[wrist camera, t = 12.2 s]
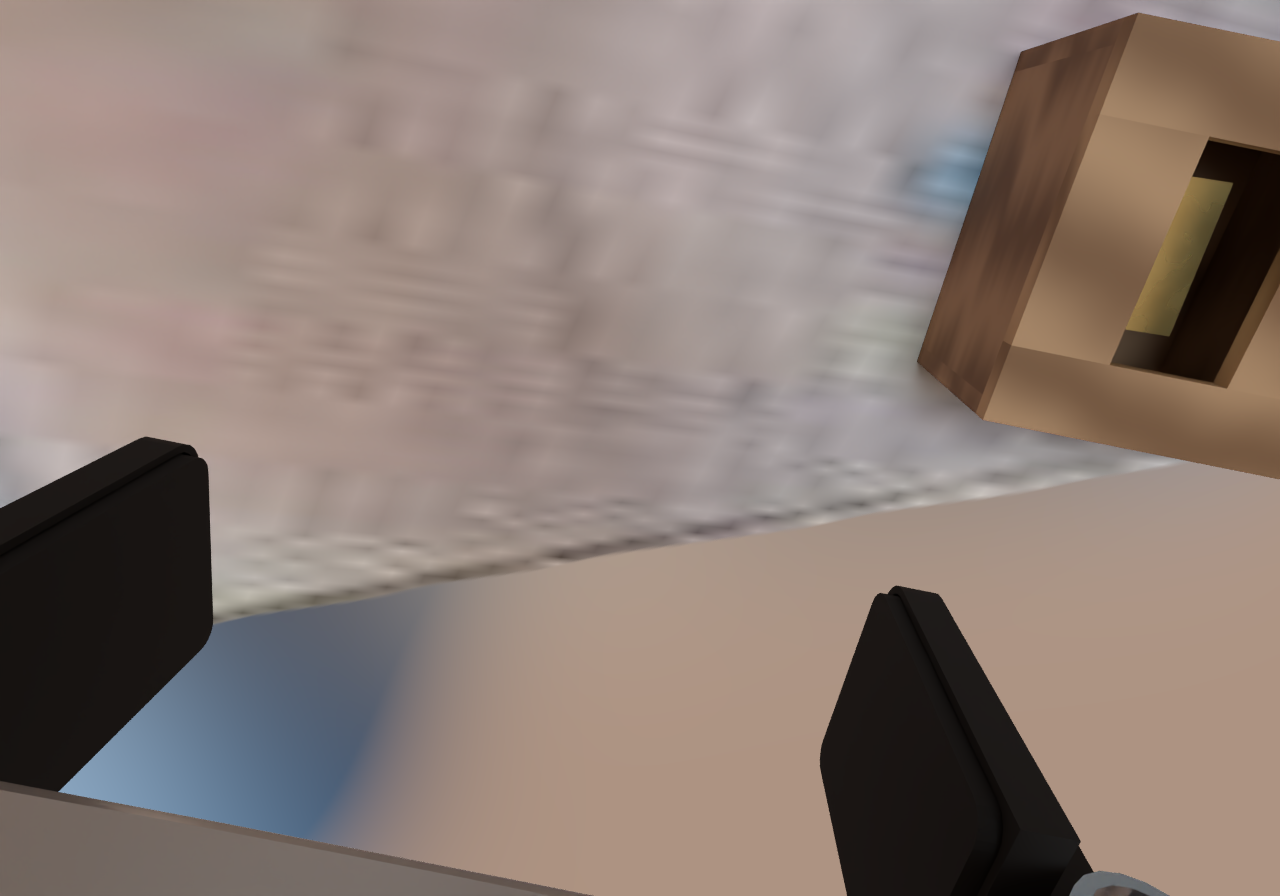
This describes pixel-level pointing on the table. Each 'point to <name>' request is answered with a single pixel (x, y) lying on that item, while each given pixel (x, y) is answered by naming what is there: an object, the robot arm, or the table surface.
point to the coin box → (1124, 248)
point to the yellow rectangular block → (1179, 257)
